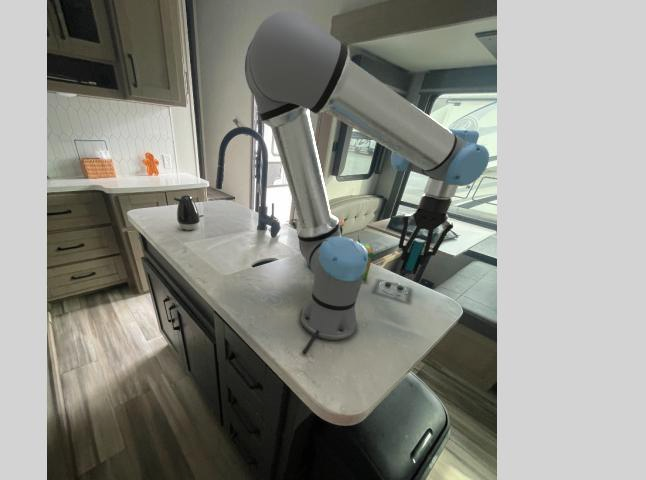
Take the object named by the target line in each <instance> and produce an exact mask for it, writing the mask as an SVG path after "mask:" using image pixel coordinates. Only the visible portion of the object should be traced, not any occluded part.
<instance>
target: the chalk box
mask: <svg viewBox="0 0 646 480" xmlns="http://www.w3.org/2000/svg"><path fill="white" fill-rule="evenodd" d="M360 240H361V239H360V235H358V234H357V242H358V243H360V244H361V245H362V246H363V247H364V248H365V249H366V251H367V253H368V261H367V269H366V272H365V273H364V276H363V280H362V281H365V282H366V281H367V279H368V275H369V271H370V268H371V265H372V260H373V258H374V257H373V256H374V250H373V248H372V245H371V244H370V243H366V242H365V243H364V242H361V241H360Z"/></svg>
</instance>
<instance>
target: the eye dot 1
mask: <svg viewBox="0 0 646 480" xmlns="http://www.w3.org/2000/svg"><path fill="white" fill-rule="evenodd" d="M384 286H385V287H388V288H389V287H392V282H384Z"/></svg>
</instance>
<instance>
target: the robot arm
mask: <svg viewBox="0 0 646 480" xmlns="http://www.w3.org/2000/svg"><path fill="white" fill-rule="evenodd" d="M244 75H245V81H246V83H247V87H248V88H249V90H250V92H251V94H252V95H253V97H254V101H255V104H256V107H257V110H258V112H259V116H260V119H261V122H262V123H263V124H264V125H266V126H268V127H270V129H271V132H272V135H273V139H274V141H275V145H276V149H277V152H278V156H279V158H280V162H281V165H282V169H283V172H284V175H285V178H286V182H287V186H288V188H289V192H290V196H291V198H292V202H293V205H294V210H295V213H296V215H297V219H298V223H299V225H298V226H297V228H296V235H297V238H298V245H299V247H298V248H299V251H300V253H301V255H302V257H303V258H304V260H305V261H306V263H307V265H308V267H309V268H310V270H311V272H312V274H313V276H314V277H313V278H314V279H313V283H312V290H311V295H310V297H309V299H308V301H307V302H306V304H305V305H304V307H303V309H302V310H301V315H300V317H301V318H300V322H301V325H302V326H303V328H304V329H305V330H306V331H307V332H308V333H310V334H311V335H312V336H311V338H310V339H309V340H308V343H307V344H306V346H305V347H304V348H303V350H302V354H307V353H308V350H309V349H310V347H311V346H312V345H313V343H314V342H315V340H316V338H319V339H322V340H327V341H342V340H345V339H346V340H347V339H348V338H350V337H351V336H352V335H353V334H354V332H355V330H356V326H357V315H356V303H357V299H358V296H359V292H360V290H361V286H362V283H363V281H364V280H363V276H364V273H365V272H366V269H367V261H368V253H367V251H366V249H365V248H364V247H363V246H362V245H361V244H360V243H361V242H360V243H358V240H353V239H352V238H349V237H346V236H341V232H340V227H339V222H338V217H337V216H335V215H334V214H332V213H331V209H330V204H329V199H328V195H327V194H328V193H327V189H326V185H325V180H324V176H323V171H322V167H321V162H320V157H319V153H318V149H317V144H316V139H315V134H314V130H313V126H312V120H311V117H310V112H312V113H314V114H315V115H319V114H321V113H324V112H325V113H326V114H328V115H330V116H331V117H334V118H335V119H337V120H339V121H340V122H342V123H343V124H346V125H347V126H349V127H351V128H352V129H354V130H355V131H357V132H359V133H361V134H362V135H364V136H365V137H368V138H369V139H370V140H373V141H374V142H376V143H378V144H379V145H381V146H383V147H385V148H386V149H388V150H389V151H391V156H390V163H391V167H392V168H393V169H394V170H395V171H400V172H403V173H405V172H413V173H416V174H418V175H422V176H425V177H427V181H426V184H425V186H424V189H423V194H422V195H421V197H420V201H419V203H418V205H417V209H416V210H415V211H414V212H413V213H411V214H407V213H406V214H404V215H403V217H402V218H403V219H402V220H403V227H402V230H401V234H400V238H399V242H398V245H397V248H399V249H401V250H402V253H401V255H400V261H402V263H401V266H400V269H399V271H400V272H403V269H404V266H405V263H406V260H407V258H408V255H409V253H410V248H411V247H412V244H413V241H414V239H416V237H417V235H418V234H419V233H420V231H421V230H425V231H427V235H426V240H425V241H426V242H425V245H424V248H423V252H421V254H420V257H419V259H418V262H417V264H416V266H415V269H414V271H413V272H412V275H415V276H416V273H417V271H418V270H419V267H420V266H424V265H425V262H426V260H427V259H428V258H427V257H429V256H433V257H434V256H436V254H437V253H438V251H439V249H440V247H441V245H442V244H443V242H444V239H446V236H447V234H448V233H449V232H450V231H452V230H453V228H454V223H453V222H450V221H449V220H447V213H448V211H449V209H450V208H451V204H452V202H453V200H452V198H454V197H455V196H456V193H457V190H458V187H465V186H466V187H467V186H469V185H471V184H473V183H474V182H476V181H478V179H480V177H481V176H482V175H483V173H484V172H485V171H486V169H487V167H488V166H489V162H490V152H489V150H488V149H487V147H486V146H484V145H481V144H478V141H479V137H480V133H479V131H478V130H474V129H473V130H471V129H461V128H460V129H458V128H457V129H456V128H447V127H445V126H443V125H442V124H441V123H439V122H438V121H436V119H433V118H432V117H431V116H430V115H428V114H427V113H425V112H424V111H423V110H421V109H420V108H418V107H417V106H416V105H414V104H413V103H411V102H410V101H408V100H407V99H406V98H404V97H403V96H402V95H400V94H398V93H397V92H396V91H395V90H393V89H392V88H391V87H389V86H387V85H386V84H385V83H383V82H382V81H380V80H379V79H378V78H377V77H375V76H373V75H372V74H371V73H369V72H368V71H367V70H366V69H364V68H363V67H361V66H359V64H357V63H355V62H354V61H353V60H351V52H350V48H349V47H347V45H345V44H344V43H342V41H340V40H338V39H337V38H335V37H334V36H333V35H331V34H330V33H329V32H328V31H326V30H325V29H324V28H322V27H321V26H319V25H318V24H317V23H315V22H313V21H312V20H311V19H309V18H308V17H306V16H305V15H303V14H301V13H298V12H295V11H292V10H279V11H276V12H273V13H272V14H270V15H268V16H267V17H266V18H265V19H264V20H263V21H262V22H261V23H260V24H259V26H258V27H257V28H256V30H255V33H254V35H253V38H252V39H251V40H250V43H249V45H248V46H247V49H246V53H245V57H244ZM412 220H414V223H415V227H414V229H413V231H412V233H411V234H410V236H409V238H408V239H407V241H406V243H405V240H406V236H407V232H408V228H409V224H410V223H411V222H412ZM440 226H442V230H441V232H440V233H439V235H438V237H437V239H436V240H435V243H434V245H433V247H432V248H431V244H432V239H433V234H434V231H435V229H437V228H438V227H440ZM430 248H431V249H430Z"/></svg>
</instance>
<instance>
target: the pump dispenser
mask: <svg viewBox="0 0 646 480" xmlns="http://www.w3.org/2000/svg"><path fill="white" fill-rule="evenodd" d="M173 201H176V202H178V204H177V209H176V221H177V223H178V225H179V227H181V228H182V229H183V230H186V231H192V230H195V229H197V228H198V227H199V224H200V221H201V220H200V219H201V218H200V214H199V210H198V207H197V205H196V203H195V201H194V199H193V198H192V196H190V195H188V194H183V195H182V196H181V197H180V198H178V197H173Z"/></svg>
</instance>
